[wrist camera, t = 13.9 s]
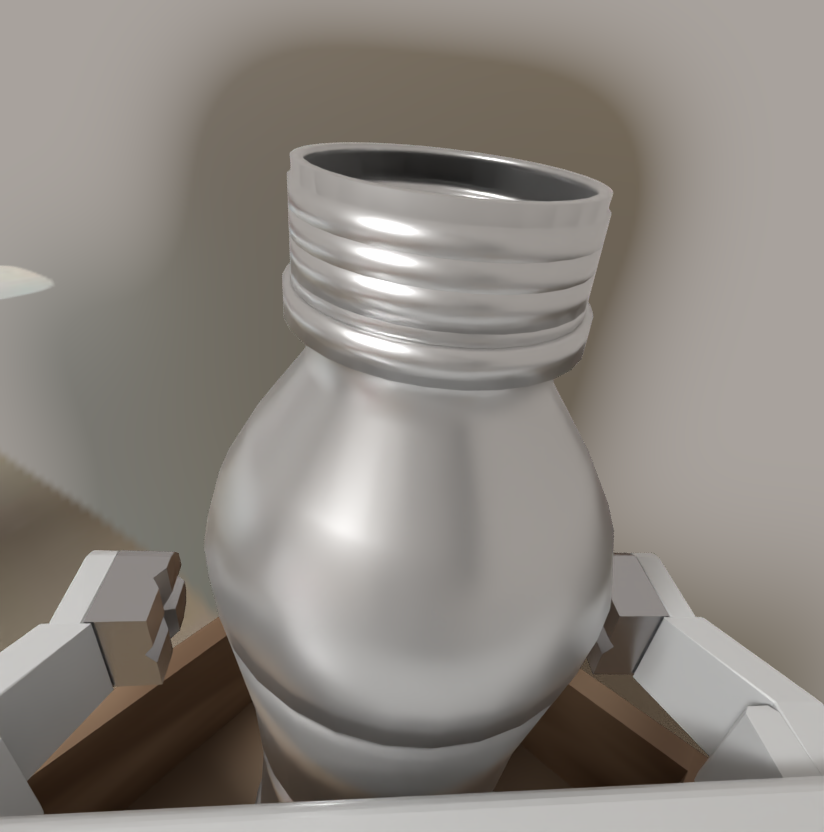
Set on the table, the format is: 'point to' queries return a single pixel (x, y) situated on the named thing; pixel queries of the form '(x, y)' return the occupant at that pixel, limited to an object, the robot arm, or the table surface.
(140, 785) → the box
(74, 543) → the table surface
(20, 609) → the table surface
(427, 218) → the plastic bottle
